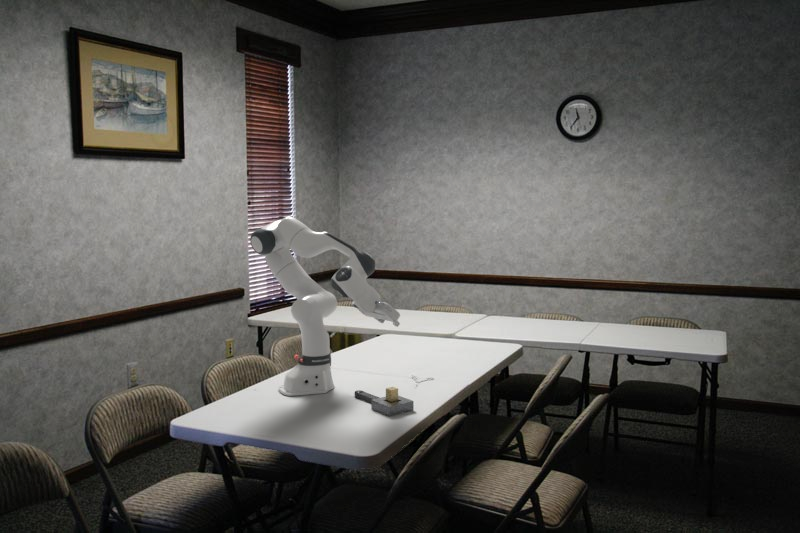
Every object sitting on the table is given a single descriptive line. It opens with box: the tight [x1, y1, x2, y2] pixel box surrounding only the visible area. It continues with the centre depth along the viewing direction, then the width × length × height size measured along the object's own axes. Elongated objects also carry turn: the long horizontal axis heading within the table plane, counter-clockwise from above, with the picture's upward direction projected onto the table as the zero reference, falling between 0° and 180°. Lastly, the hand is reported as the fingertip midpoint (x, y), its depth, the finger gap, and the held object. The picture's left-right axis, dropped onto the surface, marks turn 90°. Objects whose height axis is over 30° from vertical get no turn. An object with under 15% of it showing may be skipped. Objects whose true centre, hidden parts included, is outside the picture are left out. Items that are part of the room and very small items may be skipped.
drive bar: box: [385, 386, 399, 403], centre depth 253 cm, size 3×3×8 cm
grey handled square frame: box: [354, 389, 414, 417], centre depth 261 cm, size 11×29×4 cm, turn 38°
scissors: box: [410, 374, 435, 389], centre depth 291 cm, size 11×1×20 cm
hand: (390, 323), depth 265 cm, fingers open, 8 cm apart
